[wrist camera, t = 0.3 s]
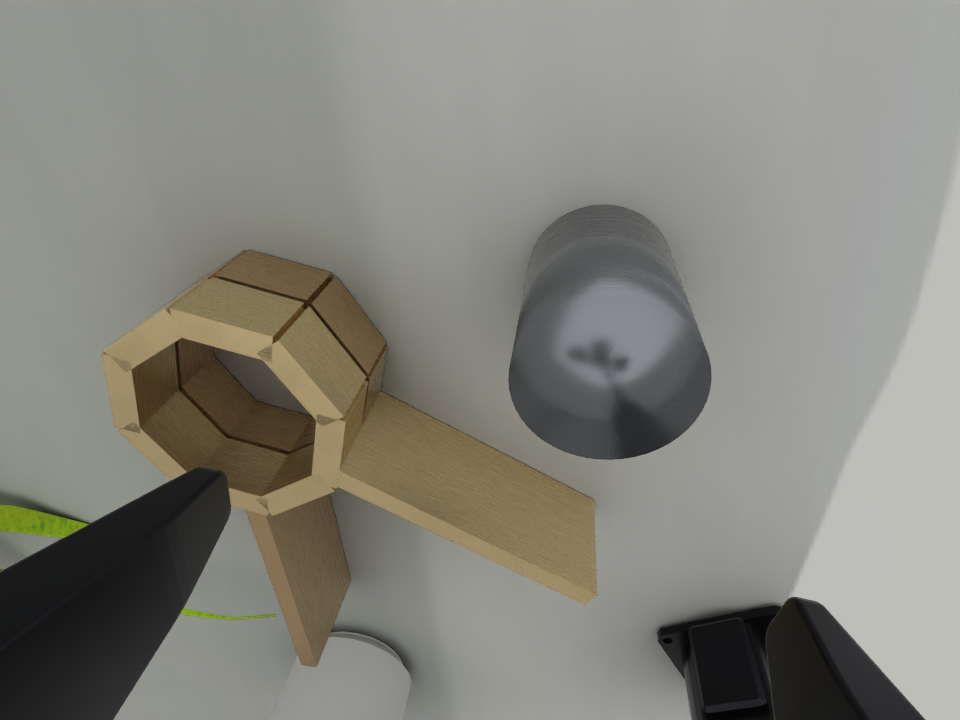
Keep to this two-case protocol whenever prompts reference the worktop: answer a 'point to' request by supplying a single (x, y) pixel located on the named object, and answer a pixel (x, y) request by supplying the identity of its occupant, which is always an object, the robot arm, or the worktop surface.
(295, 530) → the hinge
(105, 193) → the worktop surface
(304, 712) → the can
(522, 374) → the hinge pin
